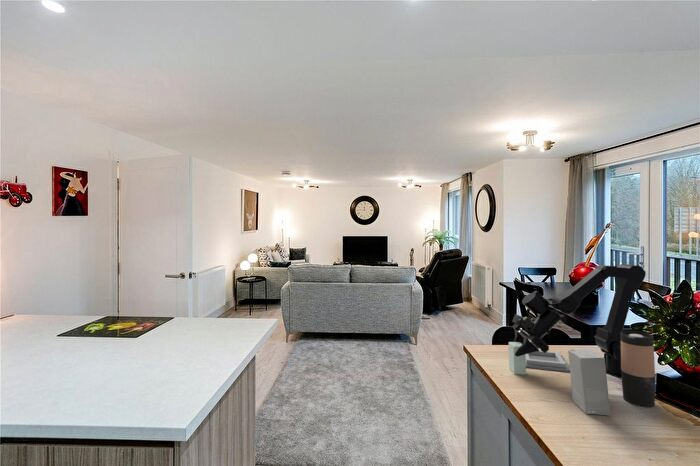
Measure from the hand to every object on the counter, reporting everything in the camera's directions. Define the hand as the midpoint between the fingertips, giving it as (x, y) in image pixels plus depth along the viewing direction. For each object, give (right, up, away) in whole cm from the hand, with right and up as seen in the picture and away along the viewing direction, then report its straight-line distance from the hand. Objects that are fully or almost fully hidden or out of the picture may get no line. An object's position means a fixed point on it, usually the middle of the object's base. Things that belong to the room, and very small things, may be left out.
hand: (512, 352), depth 122 cm
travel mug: (+26, -6, -23) cm, 35 cm away
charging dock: (+16, -6, +8) cm, 19 cm away
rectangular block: (+2, -7, 0) cm, 7 cm away
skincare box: (+9, -7, -26) cm, 28 cm away
